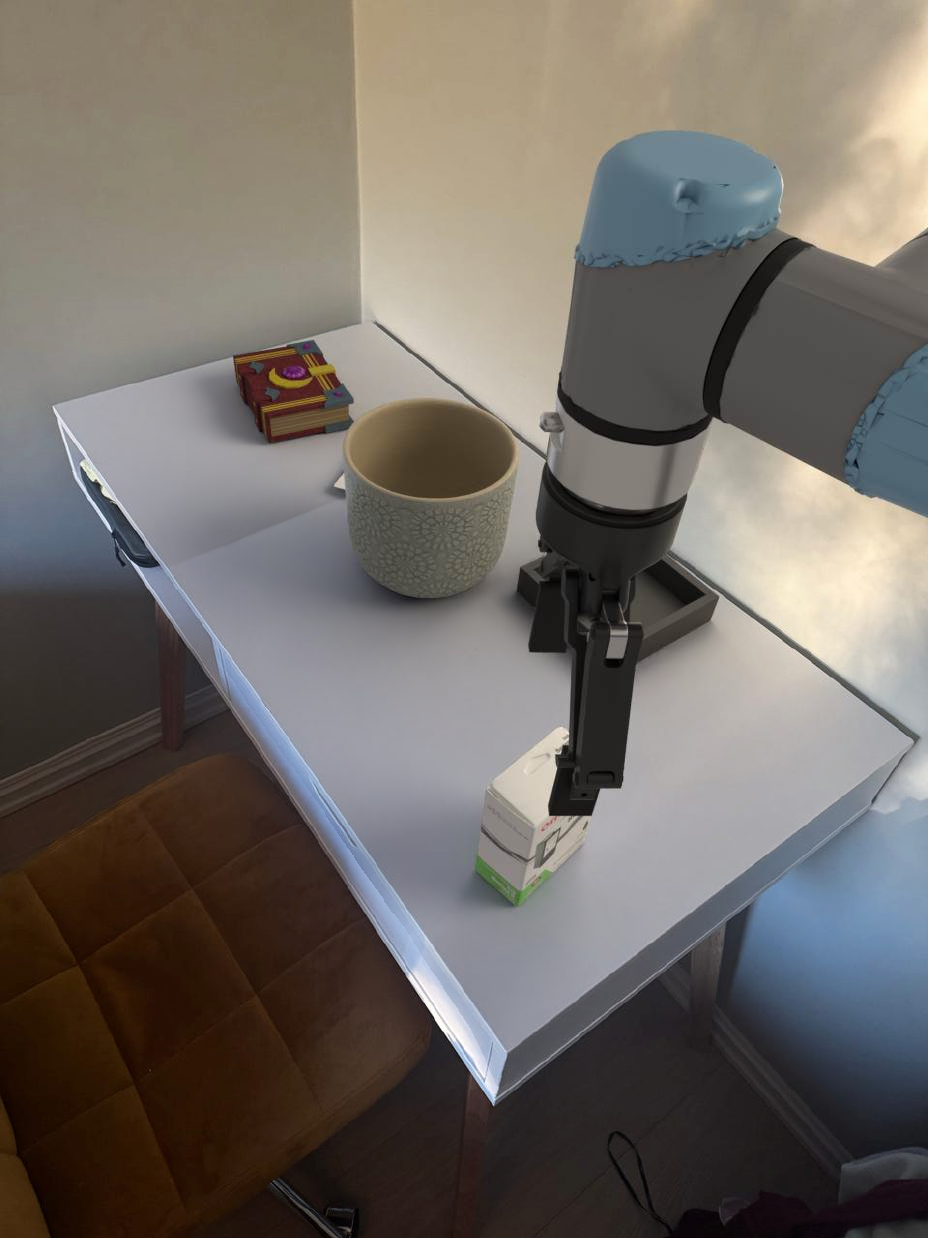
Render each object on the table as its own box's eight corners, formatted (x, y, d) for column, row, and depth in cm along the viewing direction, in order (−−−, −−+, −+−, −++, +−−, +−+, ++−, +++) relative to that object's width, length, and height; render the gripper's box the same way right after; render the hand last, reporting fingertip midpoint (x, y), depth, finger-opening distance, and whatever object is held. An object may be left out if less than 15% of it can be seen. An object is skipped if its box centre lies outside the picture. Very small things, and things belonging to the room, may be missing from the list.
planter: (352, 511, 103) (348, 393, 92) (500, 515, 104) (513, 400, 93) (342, 618, 91) (335, 497, 80) (508, 622, 92) (525, 504, 81)
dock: (710, 620, 94) (719, 596, 92) (609, 679, 88) (615, 655, 85) (616, 542, 102) (622, 518, 100) (516, 591, 96) (519, 566, 93)
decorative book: (267, 447, 110) (263, 412, 107) (231, 380, 120) (227, 346, 117) (355, 429, 114) (354, 394, 111) (313, 365, 124) (311, 331, 120)
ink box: (516, 910, 71) (534, 831, 62) (471, 868, 73) (482, 786, 64) (586, 843, 75) (611, 761, 67) (541, 805, 77) (560, 721, 69)
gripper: (522, 343, 54) (491, 593, 70) (575, 655, 37) (517, 895, 53) (645, 348, 55) (587, 595, 70) (752, 657, 38) (644, 895, 53)
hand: (557, 724), depth 62 cm, fingers open, 13 cm apart
